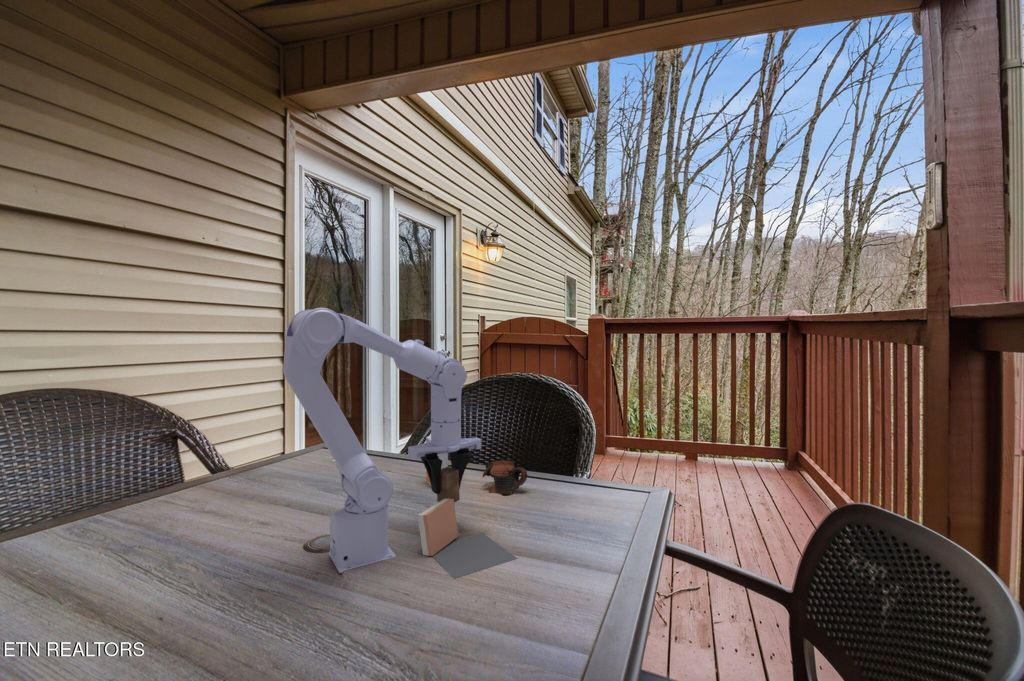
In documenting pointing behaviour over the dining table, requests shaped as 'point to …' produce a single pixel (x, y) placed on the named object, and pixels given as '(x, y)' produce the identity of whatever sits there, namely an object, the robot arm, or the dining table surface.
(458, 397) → the robot arm
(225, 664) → the dining table surface
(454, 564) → the mat
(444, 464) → the skincare box
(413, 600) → the dining table surface
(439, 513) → the whetstone
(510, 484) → the pottery mug
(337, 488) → the dining table surface
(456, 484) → the walnut block
